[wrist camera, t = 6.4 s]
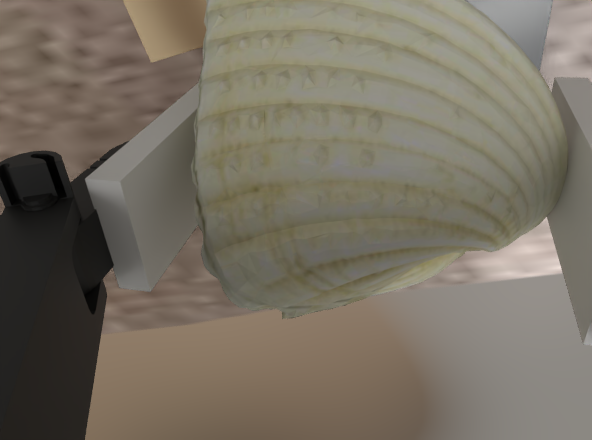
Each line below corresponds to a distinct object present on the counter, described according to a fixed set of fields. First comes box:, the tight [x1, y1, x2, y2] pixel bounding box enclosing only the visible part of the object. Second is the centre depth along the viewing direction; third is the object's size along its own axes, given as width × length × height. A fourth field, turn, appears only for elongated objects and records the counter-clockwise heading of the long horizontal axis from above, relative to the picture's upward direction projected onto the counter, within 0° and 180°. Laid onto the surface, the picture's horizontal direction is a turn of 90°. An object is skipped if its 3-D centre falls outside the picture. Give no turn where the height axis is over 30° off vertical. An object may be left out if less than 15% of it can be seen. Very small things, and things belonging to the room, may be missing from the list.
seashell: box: [191, 0, 568, 319], centre depth 13 cm, size 8×8×8 cm
